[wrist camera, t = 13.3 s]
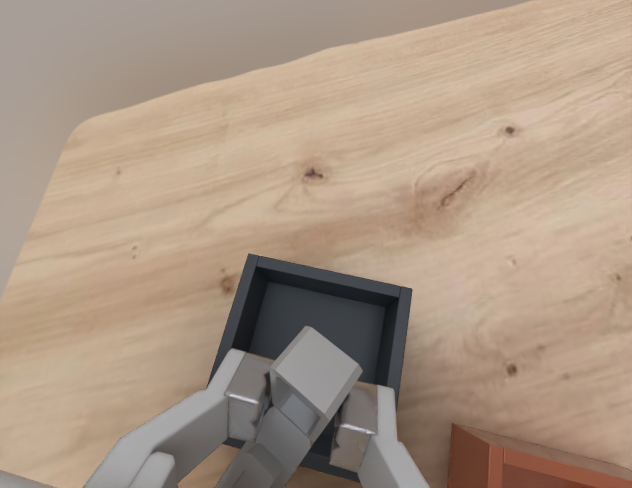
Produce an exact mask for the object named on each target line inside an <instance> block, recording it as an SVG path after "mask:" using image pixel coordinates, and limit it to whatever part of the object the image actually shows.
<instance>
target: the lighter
mask: <svg viewBox="0 0 632 488" xmlns="http://www.w3.org/2000/svg"><path fill="white" fill-rule="evenodd" d="M362 372H363V370H362V369H361V367H360V366H359V364H358V363H356V362H355V361H354V360H353V359H351V358H350V357H349V356H348V355H346V354H345V353H344V352H343V351H341V350H340V349H339V348H337V347H336V346H335V345H334V344H332V343H331V342H330V341H329V340H327V339H326V338H325V337H323V336H322V335H321V334H320V333H318V332H317V331H316V330H315V329H313V328H312V327H309V326H305V327H304V328H303V329H302V331H301V332H300V333H299V334H298V335H297V336H296V337H295V339H294V340H293V341H292V342H291V343H290V344H289V346H288V347H287V348H286V349H285V350H284V351H283V352H282V354H281V355H280V356H279V357H278V358H277V359H276V360H275V362H274V363H273V364H272V365H271V366H270V380H271V393H272V403H273V405H274V406H273V407H271V408H270V409H269V410H268V411H267V413H266V414H265V416H264V417H263V423H262V425H261V428H260V431H259V434H258V437H257V439H256V442H255V443H251V442H247V441H246V443H245V444H244V445H243V447H242V448H241V450H240V451H239V453H238V454H237V455H236V457H235V458H234V460H233V461H232V462H231V464H230V465H229V467H228V468H227V470H226V471H225V472H224V474H223V475H222V477H221V478H220V479H219V481H218V482H217V484H216V485H215V487H214V488H284V487H285V485H286V484H287V482H288V481H289V479H290V478H291V476H292V475H293V473H294V472H295V470H296V469H297V467H298V466H299V464H300V463H301V461H302V460H303V458H304V457H305V455H306V454H307V452H308V451H309V449H310V448H311V446H312V445H313V443H314V442H315V441H316V439H317V438H318V437H319V435H320V434H321V433H322V431H323V430H324V428H325V427H326V426H327V424H328V423H329V422H330V420H331V419H332V417H333V416H334V414H335V413H336V411H337V410H338V408H339V407H340V405H341V404H342V402H343V401H344V399H345V398H346V396H347V395H348V393H349V392H350V390H351V389H352V387H353V386H354V384H355V383H356V381H357V379H358V378H359V376H360V375H361V373H362Z"/></svg>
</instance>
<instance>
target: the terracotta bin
mask: <svg viewBox="0 0 632 488" xmlns="http://www.w3.org/2000/svg"><path fill="white" fill-rule="evenodd" d="M447 488H632V470H629V469H627V468H624V467H622V466H619V465H615V464H611V463H607V462H603V461H599V460H596V459H592V458H588V457H584V456H580V455H576V454H572V453H568V452H564V451H560V450H556V449H553V448H549V447H545V446H541V445H537V444H533V443H529V442H525V441H521V440H517V439H513V438H510V437H506V436H502V435H498V434H494V433H490V432H486V431H482V430H478V429H474V428H470V427H467V426H463V425H459V424H455V423H453V424H452V436H451V449H450V461H449V474H448V486H447Z"/></svg>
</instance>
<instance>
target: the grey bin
mask: <svg viewBox="0 0 632 488" xmlns="http://www.w3.org/2000/svg"><path fill="white" fill-rule="evenodd" d="M411 297H412V289H411V288H406V287H402V286H401V287H400V286H397V285H392V284H388V283H383V282H379V281H374V280H369V279H365V278H360V277H355V276H351V275H346V274H342V273H337V272H332V271H328V270H323V269H318V268H314V267H309V266H304V265H300V264H295V263H291V262H286V261H281V260H277V259H272V258H267V257H263V256H258V255H254V254H248V257H247V260H246V263H245V266H244V269H243V273H242V276H241V279H240V282H239V285H238V289H237V292H236V295H235V298H234V301H233V305H232V308H231V311H230V314H229V317H228V321H227V324H226V327H225V330H224V333H223V337H222V340H221V343H220V346H219V349H218V353H217V356H216V359H215V362H214V365H213V369H212V372H211V375H210V378H209V382H208V385H209V384H210V382H211V380H212V379H213V377H214V375H215V373H216V372H217V370H218V368H219V367H220V365H221V363H222V362H223V360H224V358H225V356H226V355H227V353H228V352H229V351H230V350H231V349H232V348H233V349H237V350H241V351H244V352H249V353H252V354H256V355H259V356H263V357H267V358H270V359H274V360H276V359H277V358H278V357H279V356H280V355H281V354H282V352H283V351H284V350H285V349H286V348H287V347H288V346H289V344H290V343H291V342H292V341H293V340H294V339H295V337H296V336H297V335H298V334H299V333H300V332H301V331H302V329H303V328H304V327H305V326H309V327H312V328H313V329H315V330H316V331H317V332H318V333H320V334H321V335H322V336H323V337H325V338H326V339H327V340H329V341H330V342H331V343H332V344H334V345H335V346H336V347H337V348H339V349H340V350H341V351H343V352H344V353H345V354H346V355H348V356H349V357H350V358H351V359H353V360H354V361H355V362H356V363H358V364H359V366H360V367H361V369H362V370H363V372H362V373H361V375H360V376H359V378H358V379H357V380H361V381H365V382H369V383H374V384H376V385H381V386H385V387H389V388H393V390H394V392H395V409H396V410H397V403H398V395H399V388H400V380H401V373H402V365H403V357H404V350H405V342H406V335H407V327H408V320H409V312H410V305H411ZM208 385H207V387H208ZM206 389H207V388H206ZM273 406H274V405H273V403H272V396H271V400H270V403H269V406H268V409H266V410H265V411H264V415H263V417H264V416H265V414H266V413H267V411H268V410H269V409H270V408H271V407H273ZM335 417H336V413H335V414H334V416H333V417H332V419H331V420H330V422H329V423H328V424H327V426H326V427H325V428H324V430H323V431H322V433H321V434H320V435H319V437H318V438H317V439H316V441H315V442H314V443H313V445H312V446H311V448H310V449H309V451H308V452H307V454H306V455H305V457H304V458H303V460H302V461H301V463H300V464H299V466H303V467H306V468H310V469H313V470H317V471H320V472H324V473H327V474H331V475H334V476H338V477H342V478H345V479H349V480H352V481H356V482H359V483H361V482H360V480H359V477H358V473H356V472H353V471H350V470H347V469H343V468H340V467H337V466H334V465H330V464H329V462H330V454H331V446H332V440H333V436H334V432H335V427H334V424H335ZM245 443H246V441H243V440H239V439H235V438H231V437H227V439H226V440H225V441H224V442H223V443H222V444H225V445H229V446H232V447H236V448H239V449H241V448H242V447H243V445H244V444H245Z"/></svg>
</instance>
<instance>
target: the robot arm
mask: <svg viewBox="0 0 632 488" xmlns="http://www.w3.org/2000/svg"><path fill="white" fill-rule="evenodd" d="M274 362H275V360H274V359H270V358H267V357H263V356H259V355H256V354H252V353H249V352H244V351H241V350H237V349H233V348H232V349H231V350H230V351H229V352H228V353H227V355H226V356H225V358H224V360H223V362H222V363H221V365H220V367H219V368H218V370H217V372H216V373H215V375H214V377H213V379H212V380H211V382H210V384H209V385H208V387H207V389H206V390H203V389H200V390H199V391H197V392H196V393H194V394H192V395H191V396H189V397H187V398H186V399H184V400H182V401H181V402H179V403H177V404H176V405H174V406H172V407H171V408H169V409H167V410H166V411H164V412H163V413H161V414H159V415H158V416H156V417H154V418H153V419H151V420H149V421H148V422H146V423H144V424H143V425H141V426H139V427H138V428H136V429H134V430H133V431H131V432H130V433H128V434H126V435H125V436H123V437H121V438H120V439H119V440H118V442H117V443H116V444H115V446H114V447H113V448H112V449H111V451H110V452H109V453H108V455H107V456H106V457H105V459H104V460H103V461H102V463H101V464H100V465H99V467H98V468H97V469H96V471H95V472H94V473H93V475H92V476H91V477H90V478H89V480H88V481H87V482H86V484H85V485H84V486H83V488H178V485H177V483H179V482H180V481H181V480H182V479H183V478H184V477H185V476H186V475H187V474H189V473H190V472H191V471H192V470H193V469H194V468H195V467H196V466H197V465H199V464H200V463H201V462H202V461H203V460H204V459H205V458H206V457H208V456H209V455H210V454H211V453H212V452H213V451H214V450H215V449H216V448H218V447H219V446H220V445H221V444H222V443H223V442H224V441H225V440H226V439H227V437H231V438H235V439H239V440H243V441H247V442H251V443H255V442H256V439H257V437H258V434H259V431H260V428H261V425H262V423H263V415H264V411H265V410H266V409H268V406H269V403H270V400H271V396H272V393H271V380H270V366H271V365H272V364H273V363H274ZM334 427H335V432H334V436H333V440H332V446H331V454H330V462H329V464H330V465H334V466H337V467H340V468H343V469H347V470H350V471H353V472H356V473H358V477H359V480H360V482H361V485H362V488H430V487H429V485H428V483H427V482H426V480H425V479H424V477H423V475H422V474H421V472H420V470H419V469H418V467H417V465H416V464H415V462H414V460H413V459H412V457H411V456H410V454H409V452H408V451H407V449H406V447H405V446H404V444H403V443H402V442H399V441H397V426H396V409H395V392H394V390H393V388H389V387H385V386H381V385H376V384H374V383H369V382H365V381H361V380H357V381H356V383H355V384H354V386H353V387H352V389H351V390H350V392H349V393H348V395H347V396H346V398H345V399H344V401H343V402H342V404H341V405H340V407H339V408H338V410H337V411H336V417H335V424H334ZM0 488H56V487H53V486H50V485H47V484H43V483H40V482H37V481H34V480H31V479H28V478H24V477H21V476H18V475H15V474H12V473H8V472H5V471H2V470H0Z"/></svg>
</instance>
